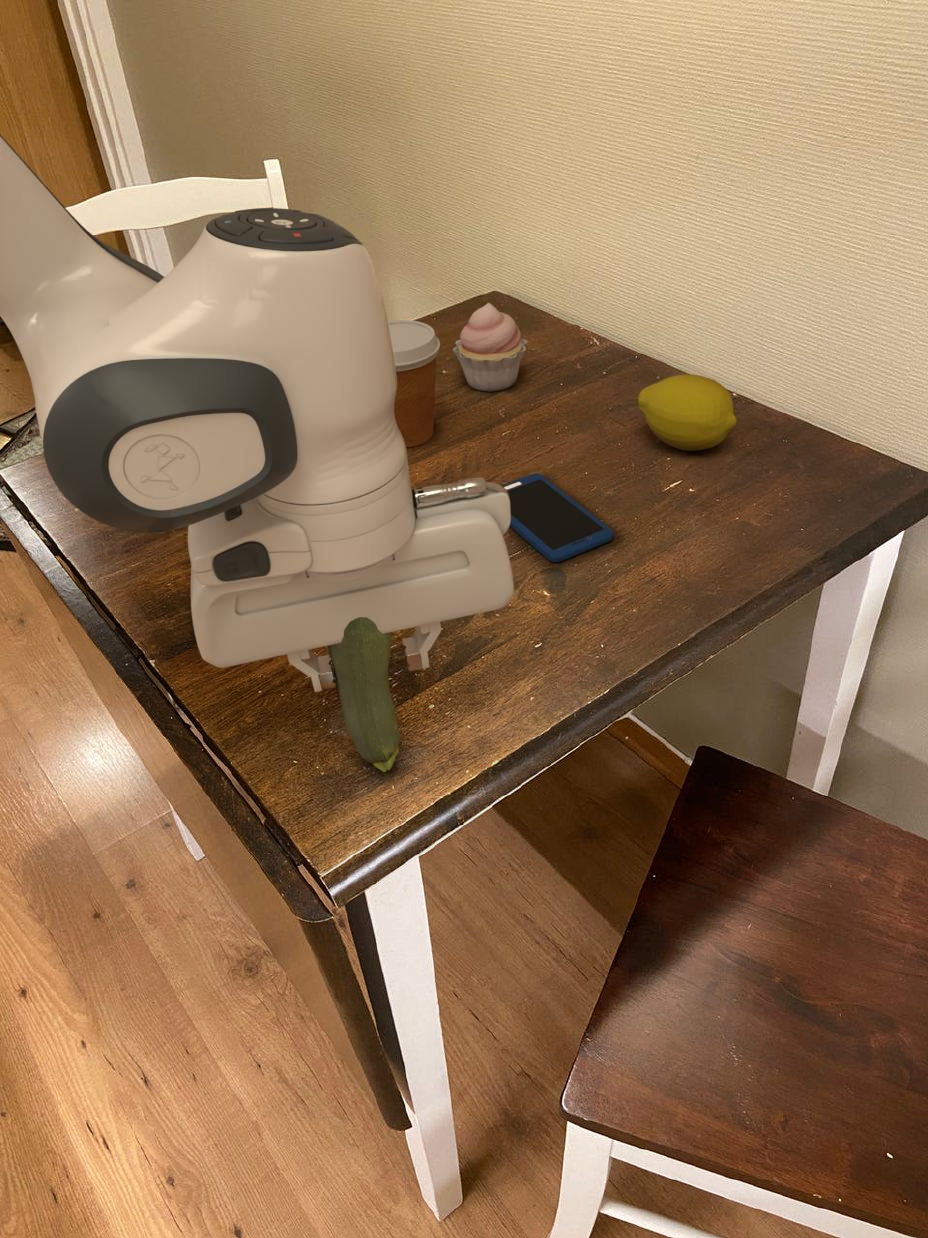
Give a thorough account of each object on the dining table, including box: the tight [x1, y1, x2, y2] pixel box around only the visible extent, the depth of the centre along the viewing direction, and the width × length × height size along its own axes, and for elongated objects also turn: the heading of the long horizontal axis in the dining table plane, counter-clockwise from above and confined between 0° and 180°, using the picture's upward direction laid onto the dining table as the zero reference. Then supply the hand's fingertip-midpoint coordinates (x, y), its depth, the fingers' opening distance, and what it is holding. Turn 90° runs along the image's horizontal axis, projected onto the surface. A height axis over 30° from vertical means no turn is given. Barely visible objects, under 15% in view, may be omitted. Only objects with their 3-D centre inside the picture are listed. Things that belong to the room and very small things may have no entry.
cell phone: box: [500, 473, 615, 563], centre depth 88 cm, size 7×14×1 cm, turn 30°
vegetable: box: [327, 617, 401, 773], centre depth 60 cm, size 4×4×20 cm
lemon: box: [637, 374, 738, 452], centre depth 95 cm, size 11×8×8 cm
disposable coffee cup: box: [387, 319, 441, 448], centre depth 100 cm, size 10×10×12 cm
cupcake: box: [452, 302, 529, 392], centre depth 109 cm, size 9×9×10 cm
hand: (371, 674), depth 61 cm, fingers open, 5 cm apart
